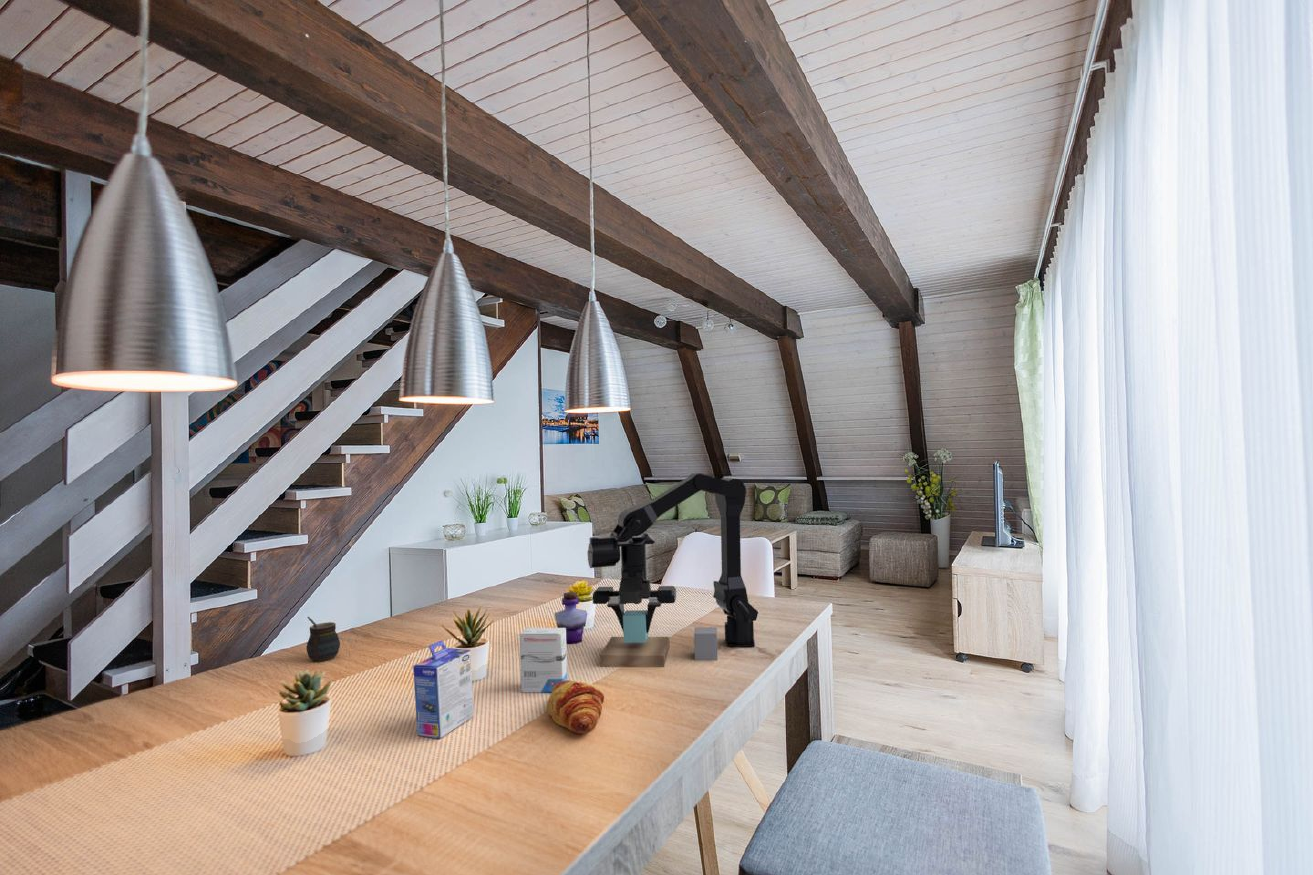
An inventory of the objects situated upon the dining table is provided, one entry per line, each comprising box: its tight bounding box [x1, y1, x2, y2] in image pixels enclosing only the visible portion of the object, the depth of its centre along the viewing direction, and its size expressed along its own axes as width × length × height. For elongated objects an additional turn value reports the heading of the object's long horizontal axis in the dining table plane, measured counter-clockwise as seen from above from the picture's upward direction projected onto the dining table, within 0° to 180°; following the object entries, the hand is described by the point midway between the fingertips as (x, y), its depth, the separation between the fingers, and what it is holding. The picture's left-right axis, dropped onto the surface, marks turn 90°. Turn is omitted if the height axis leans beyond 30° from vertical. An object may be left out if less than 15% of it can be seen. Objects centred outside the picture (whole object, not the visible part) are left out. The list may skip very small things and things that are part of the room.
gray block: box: [693, 626, 719, 661], centre depth 150 cm, size 5×5×6 cm
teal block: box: [622, 609, 649, 643], centre depth 151 cm, size 5×5×6 cm
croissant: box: [546, 679, 605, 734], centre depth 119 cm, size 21×10×8 cm, turn 18°
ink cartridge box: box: [412, 640, 475, 739], centre depth 116 cm, size 10×6×14 cm, turn 161°
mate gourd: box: [306, 616, 341, 663], centre depth 157 cm, size 7×8×10 cm
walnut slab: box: [599, 636, 670, 668], centre depth 151 cm, size 14×14×3 cm
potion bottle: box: [553, 591, 588, 645], centre depth 165 cm, size 9×9×12 cm
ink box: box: [518, 627, 568, 694], centre depth 133 cm, size 8×5×12 cm, turn 84°
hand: (636, 632), depth 151 cm, fingers closed on teal block, 5 cm apart
